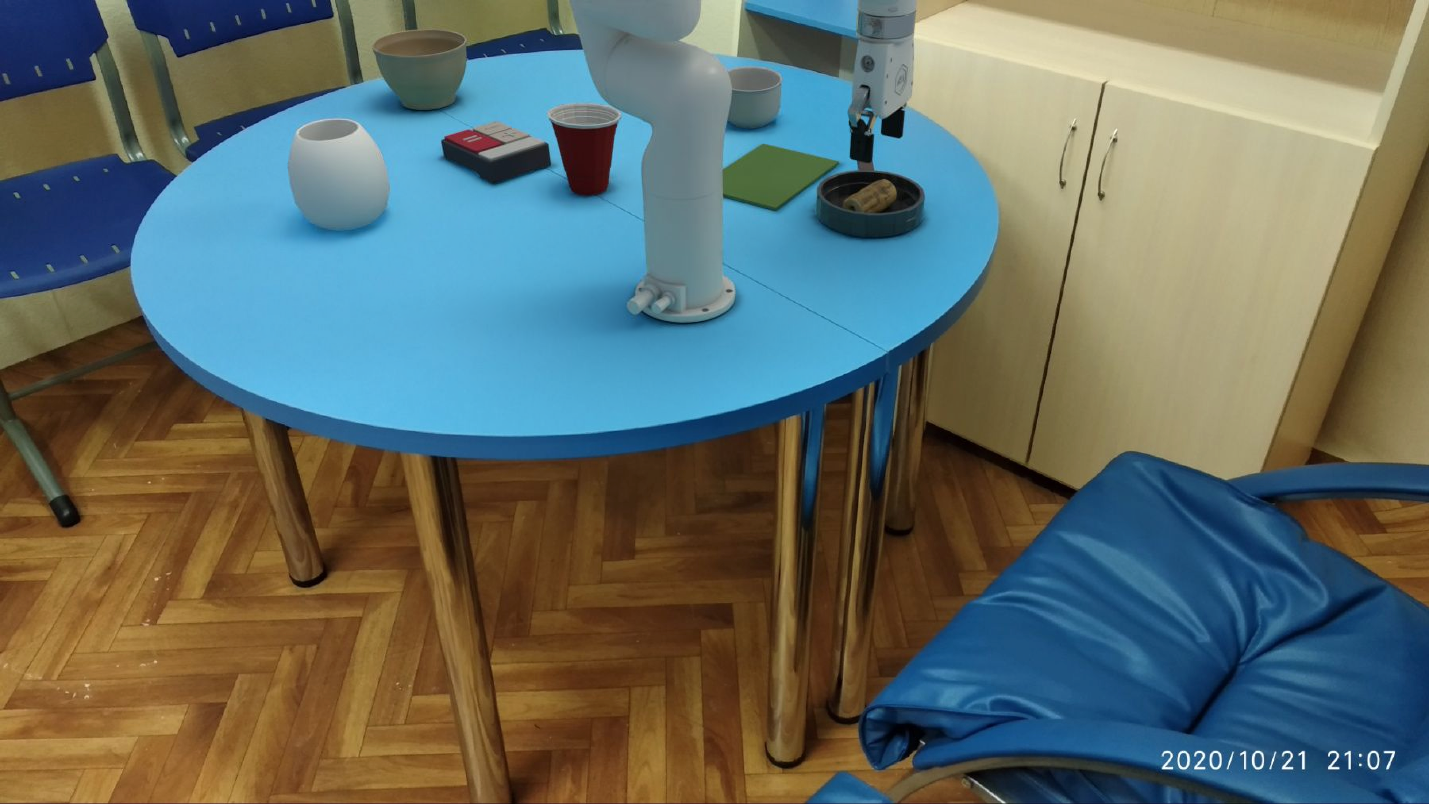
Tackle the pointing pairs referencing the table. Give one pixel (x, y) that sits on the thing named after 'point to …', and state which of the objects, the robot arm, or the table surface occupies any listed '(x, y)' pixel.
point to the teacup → (754, 96)
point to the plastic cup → (585, 144)
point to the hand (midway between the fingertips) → (876, 148)
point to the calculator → (496, 151)
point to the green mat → (772, 176)
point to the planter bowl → (422, 66)
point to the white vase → (337, 174)
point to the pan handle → (865, 165)
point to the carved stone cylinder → (872, 198)
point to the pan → (884, 224)
